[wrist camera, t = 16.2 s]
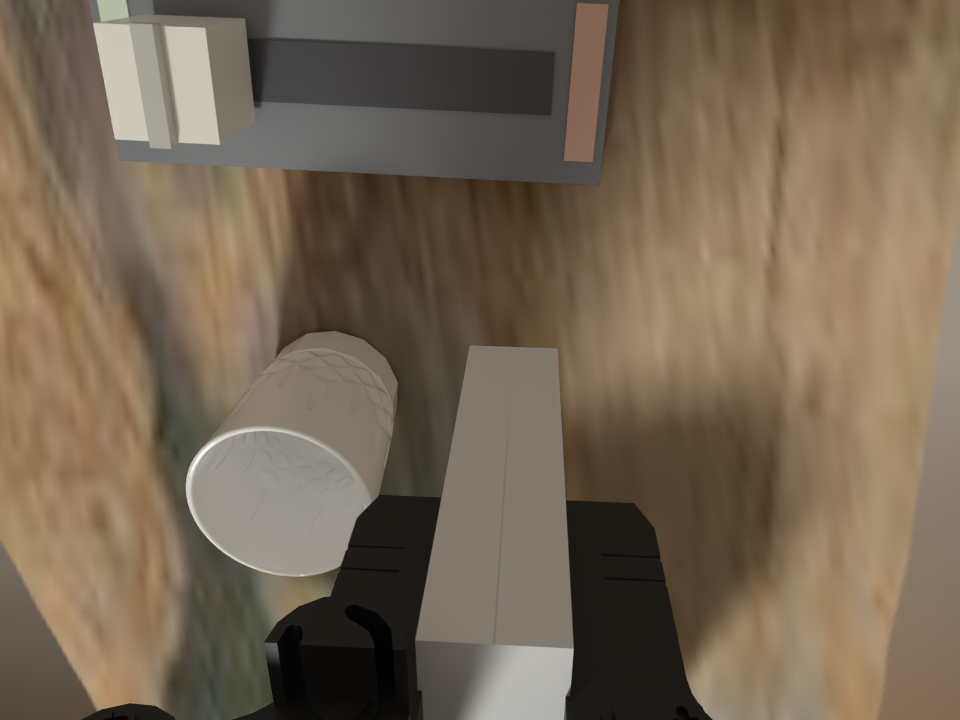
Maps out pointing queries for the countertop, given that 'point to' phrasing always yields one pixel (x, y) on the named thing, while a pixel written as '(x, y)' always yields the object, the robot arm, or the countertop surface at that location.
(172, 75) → the block
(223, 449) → the white cup
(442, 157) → the switch panel
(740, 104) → the countertop surface
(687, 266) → the countertop surface
